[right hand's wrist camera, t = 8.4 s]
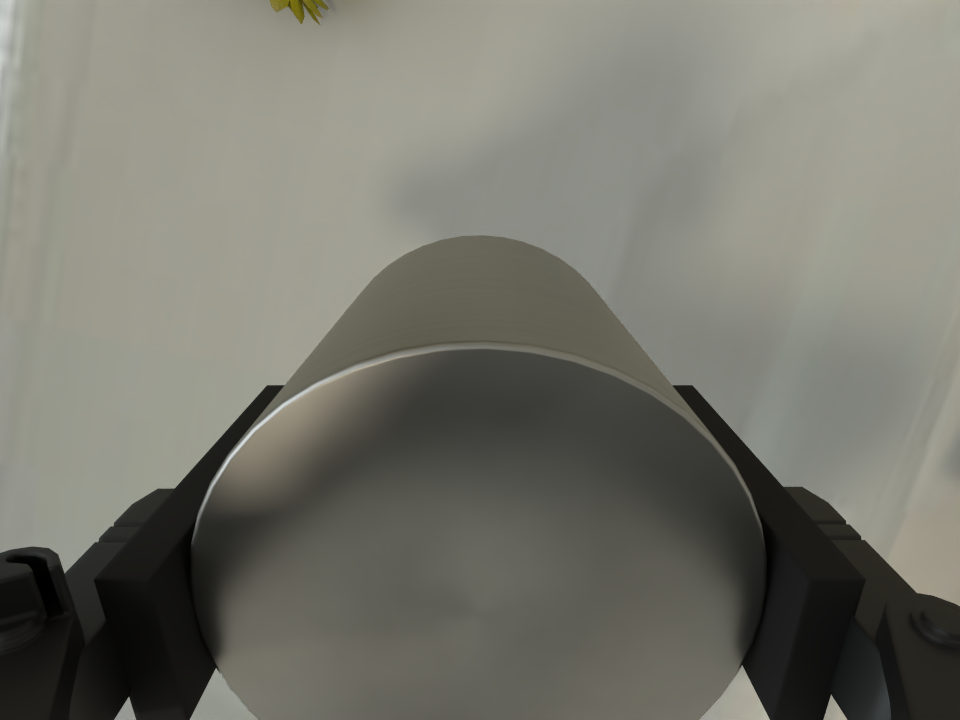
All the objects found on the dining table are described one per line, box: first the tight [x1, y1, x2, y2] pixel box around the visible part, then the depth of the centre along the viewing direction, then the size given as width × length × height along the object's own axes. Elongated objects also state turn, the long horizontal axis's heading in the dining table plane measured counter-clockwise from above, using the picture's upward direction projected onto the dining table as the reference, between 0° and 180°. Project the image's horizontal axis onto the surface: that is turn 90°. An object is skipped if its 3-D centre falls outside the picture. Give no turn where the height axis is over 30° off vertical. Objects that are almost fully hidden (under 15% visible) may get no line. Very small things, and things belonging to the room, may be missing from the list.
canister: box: [189, 236, 767, 720], centre depth 13 cm, size 9×9×9 cm
